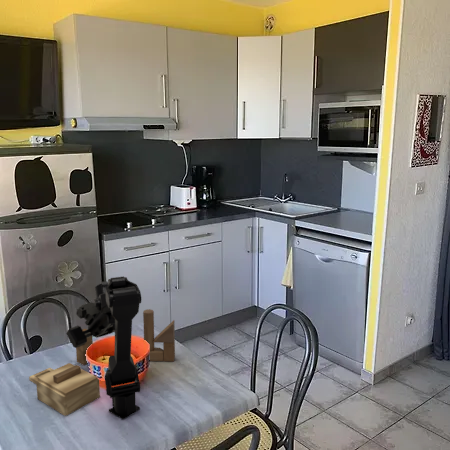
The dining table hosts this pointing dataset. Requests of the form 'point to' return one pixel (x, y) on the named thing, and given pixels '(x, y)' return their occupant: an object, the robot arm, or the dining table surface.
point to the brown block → (83, 350)
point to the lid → (67, 379)
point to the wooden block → (159, 338)
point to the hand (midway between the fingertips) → (85, 341)
